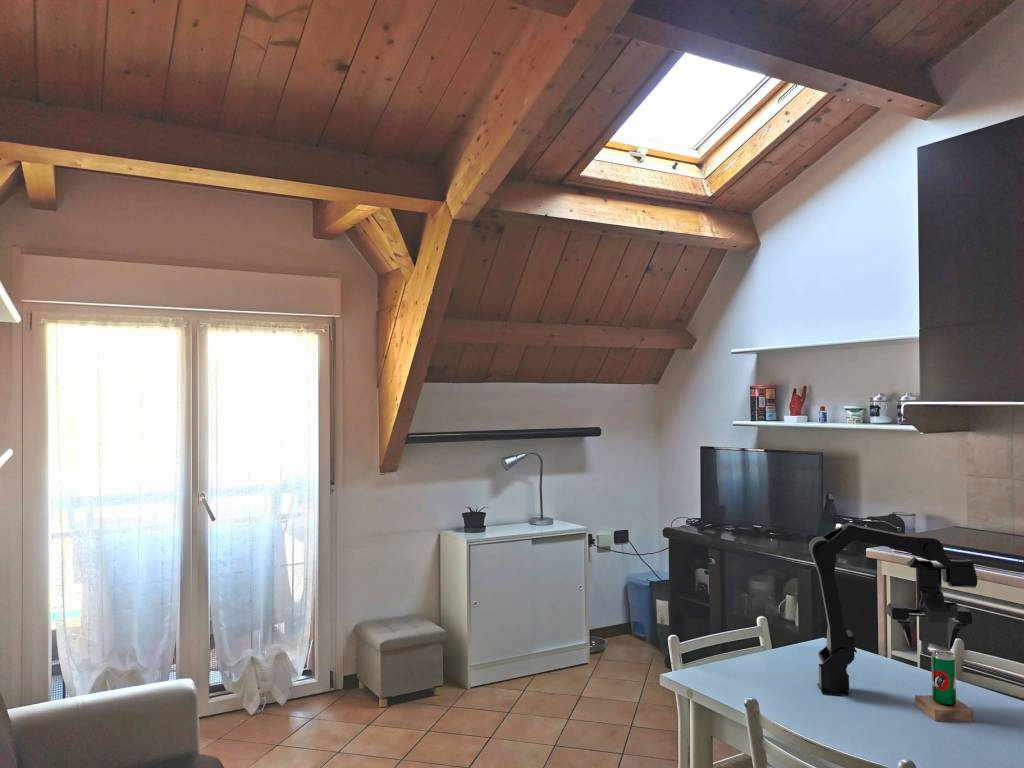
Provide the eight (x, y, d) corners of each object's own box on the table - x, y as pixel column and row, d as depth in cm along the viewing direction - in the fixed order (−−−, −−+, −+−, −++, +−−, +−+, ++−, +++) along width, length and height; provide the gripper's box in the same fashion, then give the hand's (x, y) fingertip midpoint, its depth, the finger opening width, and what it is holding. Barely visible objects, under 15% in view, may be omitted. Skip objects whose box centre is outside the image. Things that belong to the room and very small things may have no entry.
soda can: (959, 707, 177) (958, 656, 177) (936, 706, 178) (935, 655, 178) (951, 699, 182) (950, 649, 182) (929, 697, 183) (928, 648, 183)
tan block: (935, 720, 176) (934, 710, 176) (915, 705, 185) (914, 695, 185) (973, 721, 175) (973, 710, 175) (951, 705, 184) (951, 695, 184)
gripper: (897, 591, 183) (898, 655, 183) (982, 595, 179) (983, 660, 179) (885, 580, 194) (886, 641, 194) (965, 584, 190) (966, 646, 190)
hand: (929, 647), depth 189 cm, fingers open, 9 cm apart
